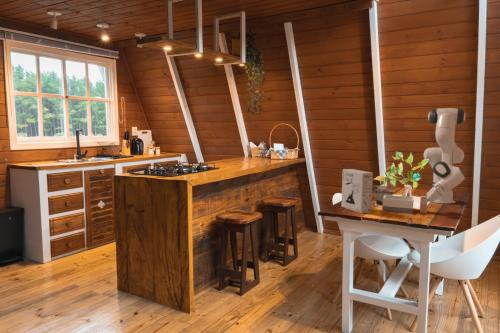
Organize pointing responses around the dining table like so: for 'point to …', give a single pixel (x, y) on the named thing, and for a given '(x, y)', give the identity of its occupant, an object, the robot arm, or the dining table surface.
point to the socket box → (398, 203)
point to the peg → (423, 205)
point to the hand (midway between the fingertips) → (422, 202)
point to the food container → (382, 195)
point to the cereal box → (357, 190)
